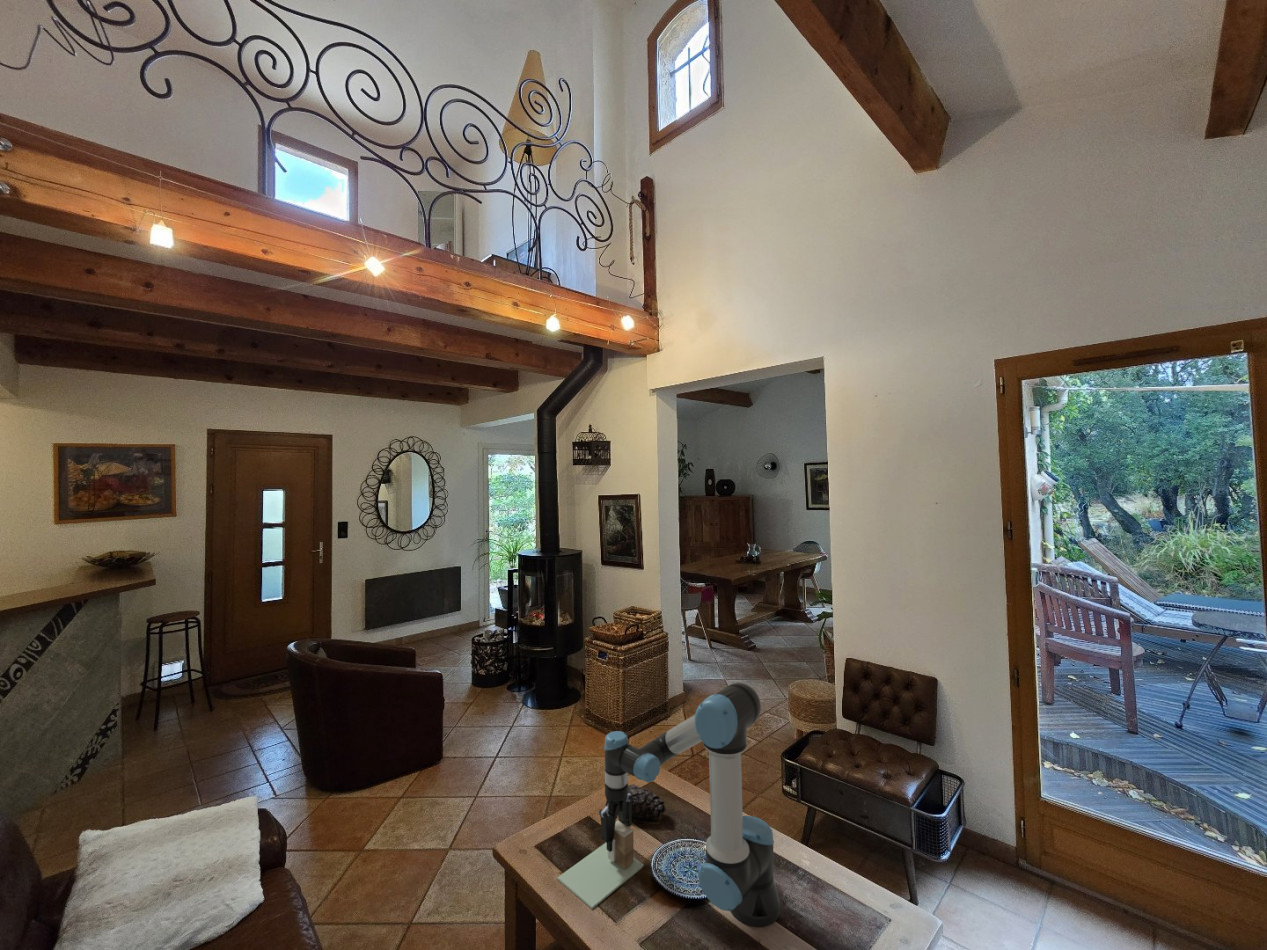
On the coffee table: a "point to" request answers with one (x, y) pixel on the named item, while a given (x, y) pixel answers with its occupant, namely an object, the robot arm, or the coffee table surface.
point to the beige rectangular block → (623, 844)
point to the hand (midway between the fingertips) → (616, 855)
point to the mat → (597, 876)
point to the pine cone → (646, 805)
